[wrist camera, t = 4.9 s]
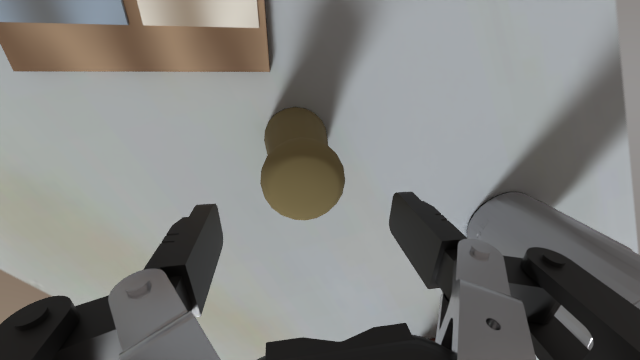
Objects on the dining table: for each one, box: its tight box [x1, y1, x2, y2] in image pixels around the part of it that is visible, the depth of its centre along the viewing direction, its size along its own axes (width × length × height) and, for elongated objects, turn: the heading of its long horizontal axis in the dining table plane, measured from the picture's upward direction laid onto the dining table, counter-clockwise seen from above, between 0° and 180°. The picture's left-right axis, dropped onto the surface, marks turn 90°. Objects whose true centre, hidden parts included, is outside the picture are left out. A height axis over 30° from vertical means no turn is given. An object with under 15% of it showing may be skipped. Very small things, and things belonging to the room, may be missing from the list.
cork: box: [261, 107, 345, 220], centre depth 19 cm, size 6×6×11 cm
